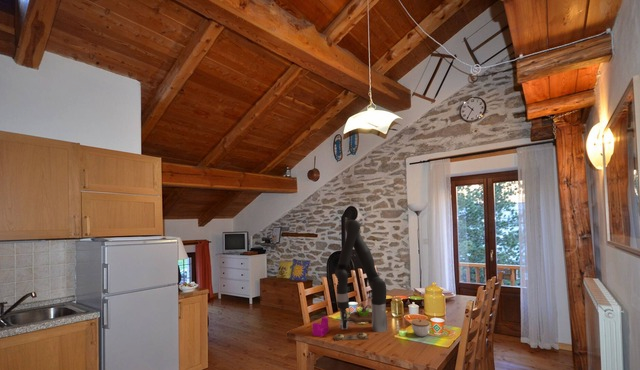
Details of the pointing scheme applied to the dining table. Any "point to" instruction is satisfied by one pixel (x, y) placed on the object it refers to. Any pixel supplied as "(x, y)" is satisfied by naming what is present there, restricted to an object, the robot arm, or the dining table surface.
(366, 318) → the plant
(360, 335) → the gear board
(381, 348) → the dining table surface
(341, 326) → the idler gear
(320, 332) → the toy block
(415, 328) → the lidded jar
